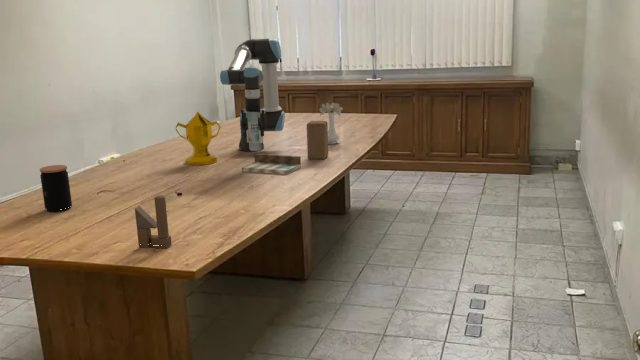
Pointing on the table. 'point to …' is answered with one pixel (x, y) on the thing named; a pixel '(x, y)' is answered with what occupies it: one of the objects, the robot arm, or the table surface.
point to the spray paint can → (253, 131)
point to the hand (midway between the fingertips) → (255, 142)
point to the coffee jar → (55, 188)
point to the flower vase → (331, 120)
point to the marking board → (273, 164)
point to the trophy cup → (199, 140)
